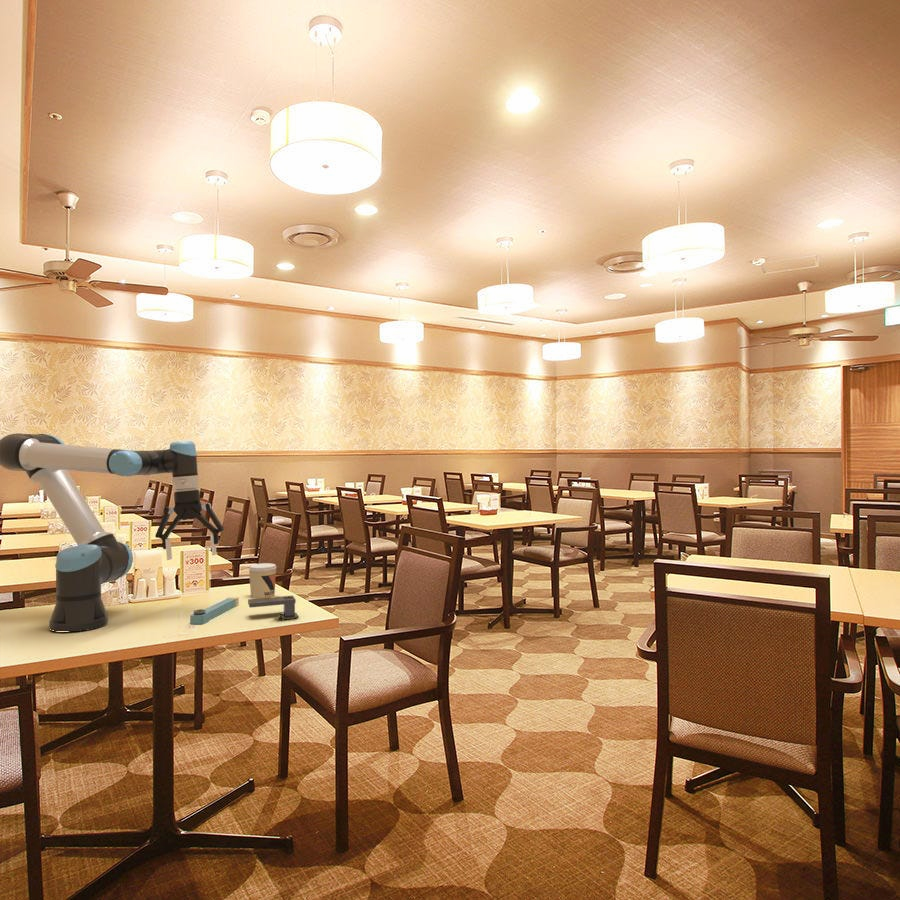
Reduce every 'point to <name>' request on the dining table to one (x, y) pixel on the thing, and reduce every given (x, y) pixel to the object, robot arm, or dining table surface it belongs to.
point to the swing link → (215, 610)
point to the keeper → (286, 600)
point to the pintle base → (199, 612)
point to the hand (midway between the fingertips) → (192, 557)
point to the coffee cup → (262, 580)
